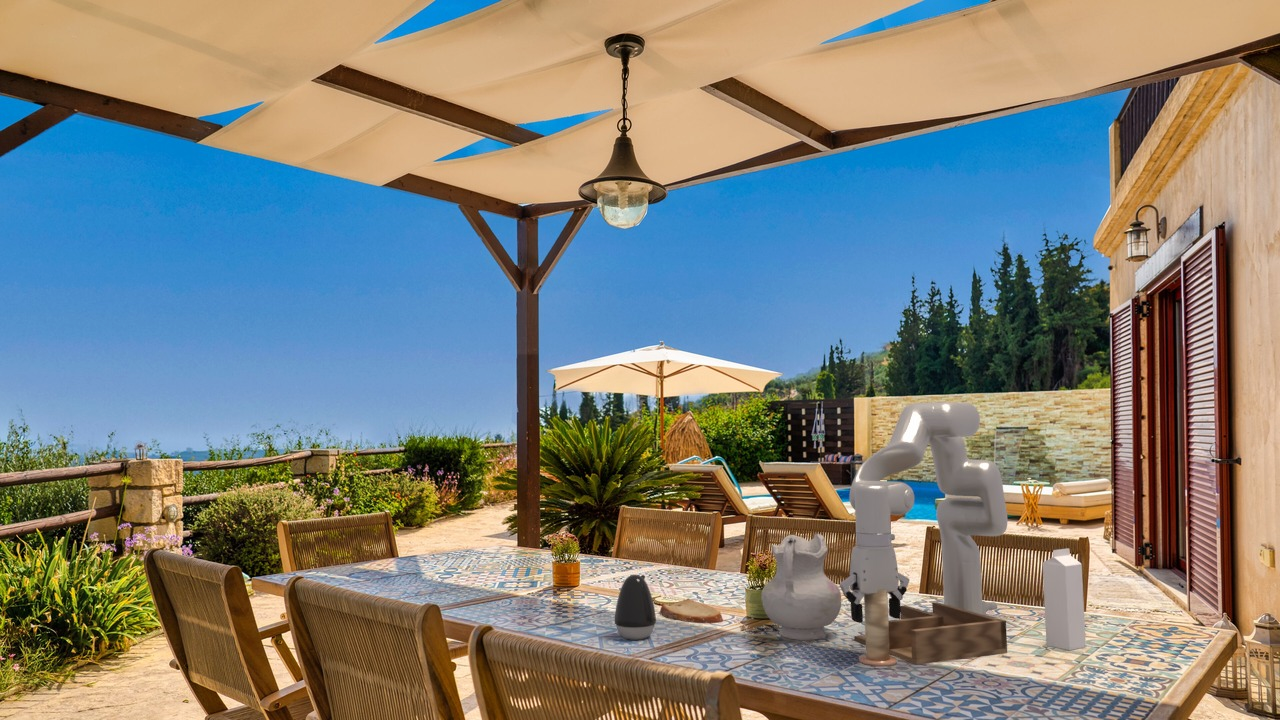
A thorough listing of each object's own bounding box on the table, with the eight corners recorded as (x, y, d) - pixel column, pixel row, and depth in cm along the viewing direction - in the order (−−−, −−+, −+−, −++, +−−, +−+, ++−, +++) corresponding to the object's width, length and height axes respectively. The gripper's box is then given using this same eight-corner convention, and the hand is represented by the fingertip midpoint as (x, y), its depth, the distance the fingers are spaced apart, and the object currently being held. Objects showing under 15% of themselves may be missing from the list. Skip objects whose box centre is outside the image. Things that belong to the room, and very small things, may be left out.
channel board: (938, 630, 221) (937, 602, 221) (1007, 652, 199) (1005, 621, 199) (854, 640, 212) (853, 610, 213) (916, 664, 190) (915, 631, 191)
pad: (882, 655, 198) (882, 652, 198) (904, 663, 191) (904, 660, 191) (851, 658, 196) (851, 655, 196) (872, 667, 188) (872, 664, 188)
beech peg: (880, 654, 197) (878, 585, 198) (894, 659, 192) (892, 589, 193) (861, 656, 195) (859, 587, 196) (874, 662, 190) (872, 590, 192)
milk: (1086, 647, 203) (1082, 549, 204) (1069, 650, 200) (1065, 552, 201) (1062, 641, 208) (1058, 546, 210) (1045, 645, 205) (1041, 548, 207)
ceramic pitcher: (840, 653, 205) (845, 544, 207) (755, 643, 209) (761, 536, 211) (838, 632, 226) (843, 533, 228) (761, 623, 230) (767, 526, 232)
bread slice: (723, 624, 232) (722, 610, 233) (654, 623, 235) (654, 609, 235) (725, 610, 250) (725, 597, 250) (662, 609, 253) (662, 596, 253)
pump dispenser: (663, 634, 221) (662, 572, 222) (645, 644, 212) (644, 579, 213) (626, 631, 225) (625, 570, 226) (607, 640, 216) (607, 576, 217)
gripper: (896, 536, 202) (898, 613, 200) (830, 540, 196) (832, 619, 194) (917, 540, 195) (920, 619, 193) (849, 545, 189) (852, 626, 187)
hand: (876, 619), depth 194 cm, fingers open, 9 cm apart
